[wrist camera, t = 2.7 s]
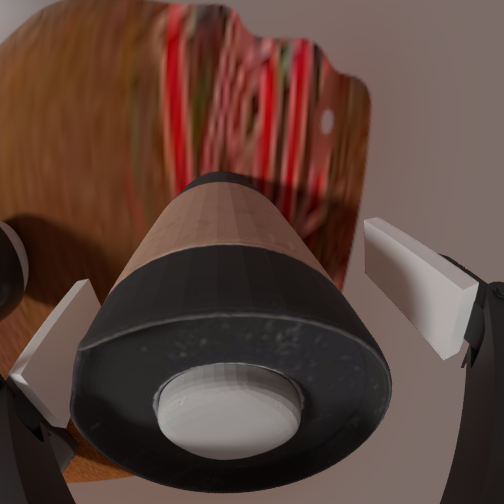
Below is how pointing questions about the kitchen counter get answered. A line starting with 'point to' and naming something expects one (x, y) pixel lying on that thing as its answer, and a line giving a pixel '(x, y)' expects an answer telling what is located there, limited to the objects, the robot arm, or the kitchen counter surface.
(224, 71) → the kitchen counter surface
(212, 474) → the travel mug
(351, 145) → the kitchen counter surface
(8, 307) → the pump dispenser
